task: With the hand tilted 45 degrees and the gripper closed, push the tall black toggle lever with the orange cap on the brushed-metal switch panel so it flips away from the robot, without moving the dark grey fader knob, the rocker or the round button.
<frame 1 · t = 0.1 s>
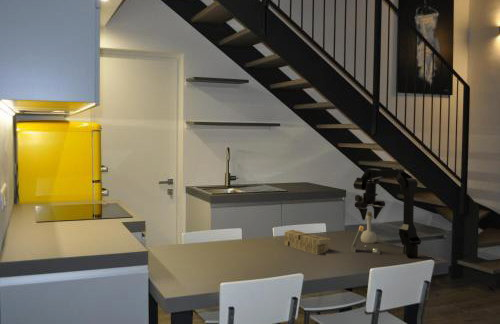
hand: (369, 219, 287), 15 cm above the table, tool pointing down, fingers open, 9 cm apart
toggle lever: (357, 238, 269), point 8 cm above the table, hinge at -20.0°
fader knob: (365, 247, 273), point 2 cm above the table, slide at 0.0 cm, touching switch panel
switch panel: (363, 253, 268), on the table
potion bottle: (368, 244, 293), on the table
block tower: (305, 249, 277), on the table
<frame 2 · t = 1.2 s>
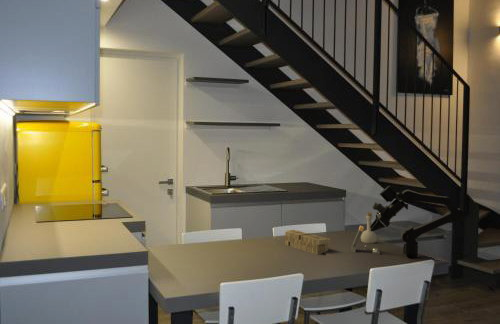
hand: (370, 229, 267), 13 cm above the table, tool tilted 45°, fingers open, 8 cm apart
nothing on the table moved.
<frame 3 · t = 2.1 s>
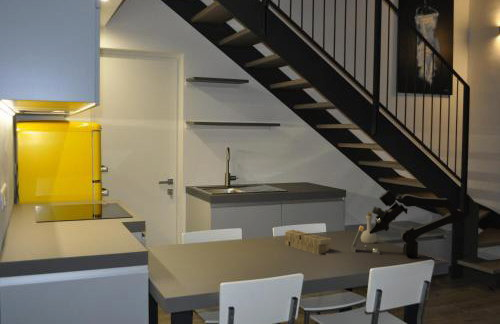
hand: (369, 233, 267), 11 cm above the table, tool tilted 45°, fingers closed
nothing on the table moved.
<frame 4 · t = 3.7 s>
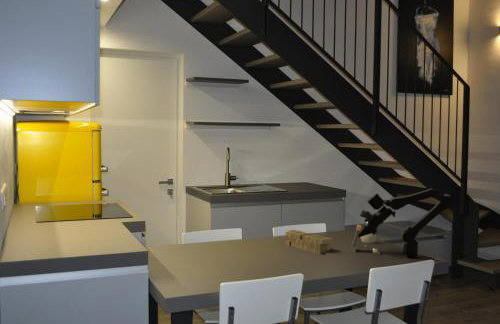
hand: (358, 236, 268), 9 cm above the table, tool tilted 45°, fingers closed, pressing on toggle lever
toggle lever: (355, 237, 269), point 8 cm above the table, hinge at -13.4°, touching gripper
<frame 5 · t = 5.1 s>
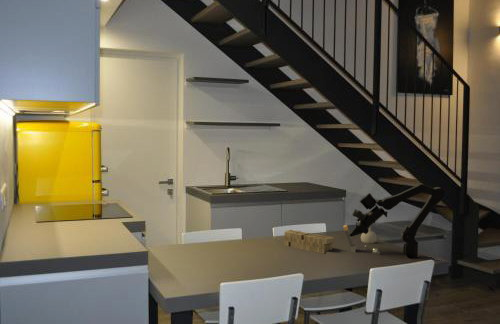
hand: (350, 235, 269), 9 cm above the table, tool tilted 45°, fingers closed, pressing on toggle lever
toggle lever: (349, 237, 269), point 8 cm above the table, hinge at 21.1°, touching gripper
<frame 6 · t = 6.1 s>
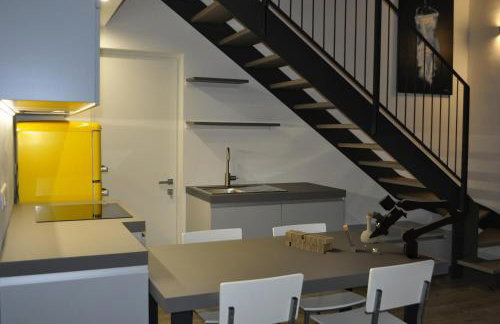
hand: (369, 238, 268), 8 cm above the table, tool tilted 45°, fingers closed
toggle lever: (349, 237, 269), point 8 cm above the table, hinge at 21.1°
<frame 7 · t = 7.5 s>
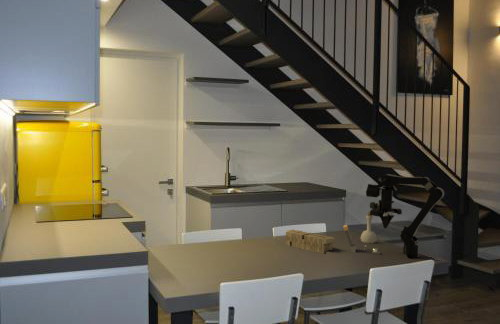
hand: (385, 228, 270), 13 cm above the table, tool pointing down, fingers closed
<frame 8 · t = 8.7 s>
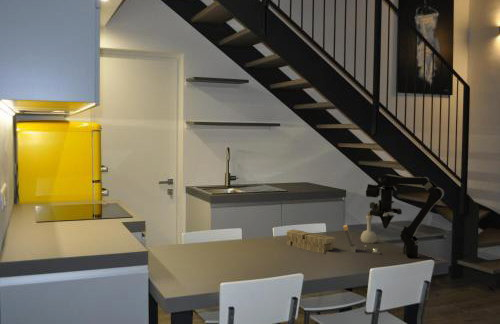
hand: (385, 228, 270), 13 cm above the table, tool pointing down, fingers closed
at the end: toggle lever at +21° (first picture: -20°); fader knob slide at 0.0 cm; toggle lever touching nothing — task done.
